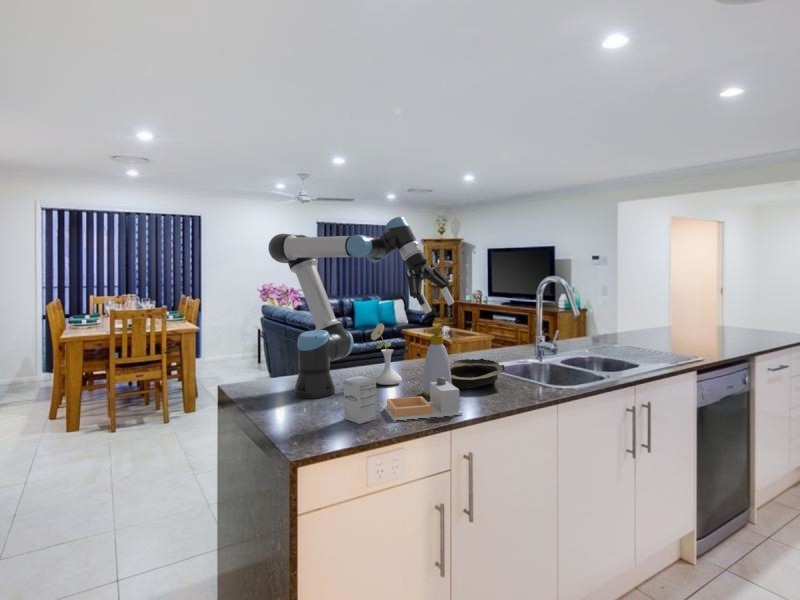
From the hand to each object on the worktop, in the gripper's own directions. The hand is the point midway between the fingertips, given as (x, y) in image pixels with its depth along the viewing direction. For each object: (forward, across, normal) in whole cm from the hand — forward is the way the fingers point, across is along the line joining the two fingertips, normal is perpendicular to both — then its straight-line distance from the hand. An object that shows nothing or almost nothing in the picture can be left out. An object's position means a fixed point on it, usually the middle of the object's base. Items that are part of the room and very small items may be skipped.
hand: (440, 308), depth 169 cm
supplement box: (+22, -40, +16) cm, 49 cm away
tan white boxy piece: (+29, -23, +8) cm, 37 cm away
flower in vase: (+15, -2, +42) cm, 44 cm away
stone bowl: (+31, +16, +17) cm, 39 cm away
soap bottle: (+27, -2, +19) cm, 33 cm away
